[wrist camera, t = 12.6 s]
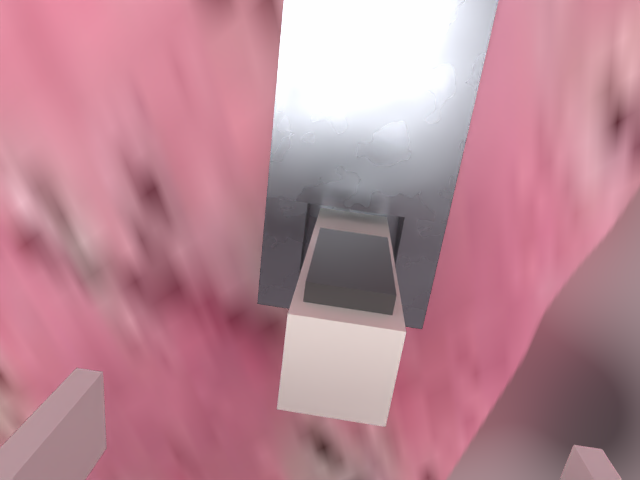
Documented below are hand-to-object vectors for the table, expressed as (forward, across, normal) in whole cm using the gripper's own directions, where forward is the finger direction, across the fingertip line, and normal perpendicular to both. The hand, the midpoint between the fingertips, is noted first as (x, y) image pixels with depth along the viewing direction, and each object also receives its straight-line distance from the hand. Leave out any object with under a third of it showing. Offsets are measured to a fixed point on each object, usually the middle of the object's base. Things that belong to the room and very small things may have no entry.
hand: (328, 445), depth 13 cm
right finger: (+16, 0, 0) cm, 16 cm away
